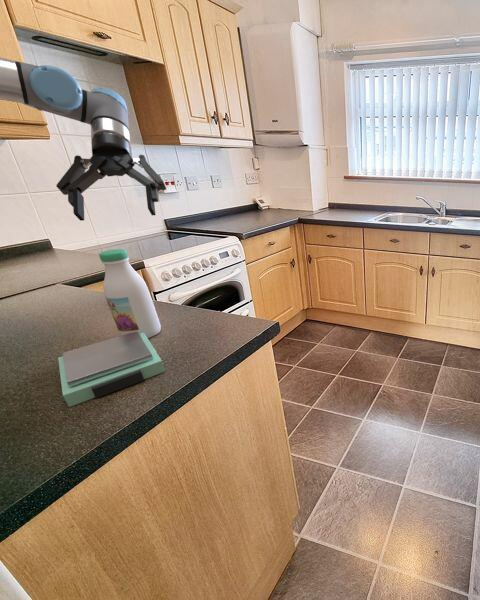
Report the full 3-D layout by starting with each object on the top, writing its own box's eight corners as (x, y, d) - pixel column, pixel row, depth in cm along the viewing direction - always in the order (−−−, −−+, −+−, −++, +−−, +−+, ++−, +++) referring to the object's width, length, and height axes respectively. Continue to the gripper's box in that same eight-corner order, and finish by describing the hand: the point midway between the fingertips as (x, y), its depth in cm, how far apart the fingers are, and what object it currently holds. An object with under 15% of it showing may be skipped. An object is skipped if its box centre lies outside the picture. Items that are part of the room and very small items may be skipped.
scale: (63, 368, 67) (57, 357, 66) (147, 341, 76) (143, 332, 75) (69, 409, 56) (63, 397, 55) (166, 373, 65) (162, 362, 64)
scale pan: (64, 357, 65) (62, 352, 65) (139, 334, 73) (137, 330, 72) (69, 387, 57) (67, 382, 56) (153, 358, 64) (151, 354, 64)
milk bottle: (154, 323, 84) (127, 244, 76) (167, 332, 80) (140, 250, 72) (116, 336, 78) (83, 252, 70) (129, 346, 74) (95, 258, 66)
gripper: (174, 154, 92) (183, 219, 85) (55, 156, 82) (56, 229, 76) (165, 131, 85) (174, 200, 79) (35, 130, 75) (34, 208, 69)
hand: (116, 214), depth 77 cm, fingers open, 13 cm apart
